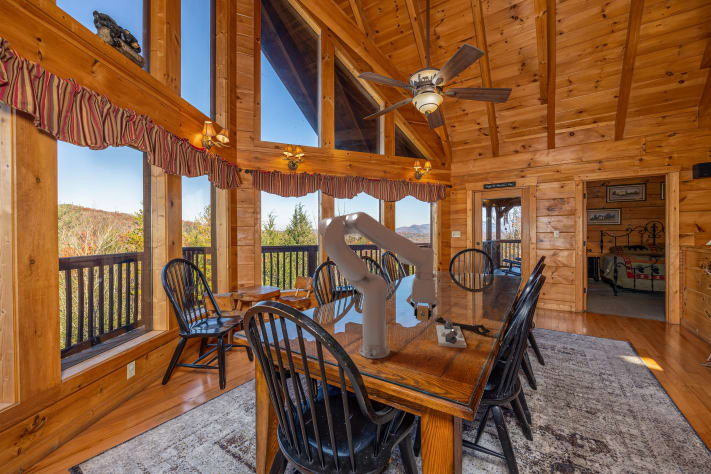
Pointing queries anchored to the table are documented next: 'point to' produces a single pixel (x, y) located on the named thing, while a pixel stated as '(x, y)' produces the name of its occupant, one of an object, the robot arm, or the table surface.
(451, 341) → the dark grey rounded block
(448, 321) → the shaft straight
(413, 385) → the table surface
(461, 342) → the light grey rectangular plate
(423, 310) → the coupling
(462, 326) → the wrench
